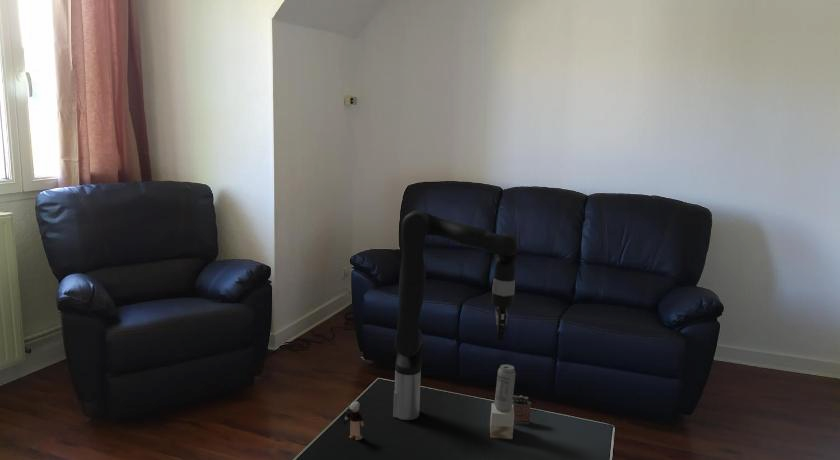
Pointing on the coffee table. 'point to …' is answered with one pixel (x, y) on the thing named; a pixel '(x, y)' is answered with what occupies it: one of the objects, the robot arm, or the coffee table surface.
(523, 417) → the lighter
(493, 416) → the cream block
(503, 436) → the birch block
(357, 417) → the grandmother figurine
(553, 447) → the coffee table surface
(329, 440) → the coffee table surface
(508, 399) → the energy drink can
